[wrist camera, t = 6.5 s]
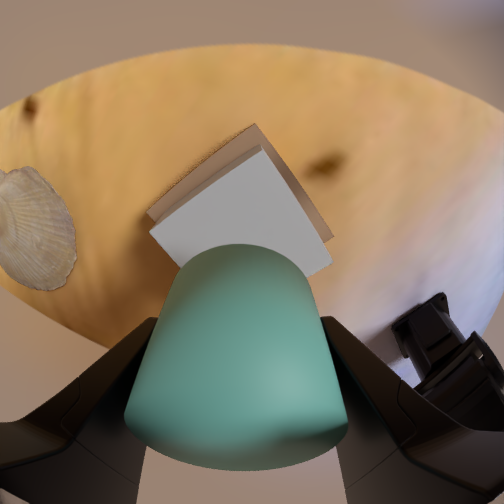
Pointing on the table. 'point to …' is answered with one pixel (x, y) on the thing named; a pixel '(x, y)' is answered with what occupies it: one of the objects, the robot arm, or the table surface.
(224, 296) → the teal cylinder
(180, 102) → the table surface
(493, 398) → the robot arm
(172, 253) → the grey block
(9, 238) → the seashell
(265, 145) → the walnut base
